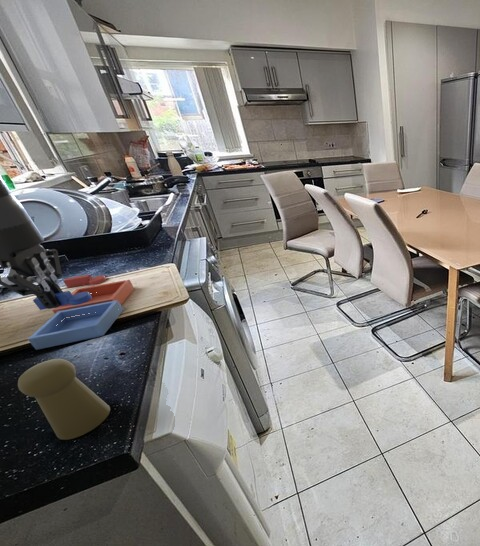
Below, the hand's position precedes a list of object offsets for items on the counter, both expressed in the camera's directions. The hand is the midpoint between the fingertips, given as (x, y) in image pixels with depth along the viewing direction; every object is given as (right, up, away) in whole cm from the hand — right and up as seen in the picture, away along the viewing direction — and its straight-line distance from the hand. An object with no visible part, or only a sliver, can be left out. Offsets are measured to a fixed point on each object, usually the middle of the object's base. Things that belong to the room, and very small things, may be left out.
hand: (57, 304), depth 64 cm
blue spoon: (+1, 0, 0) cm, 1 cm away
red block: (-16, +3, +22) cm, 27 cm away
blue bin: (+2, -6, +4) cm, 7 cm away
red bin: (-4, -1, +12) cm, 13 cm away
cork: (+23, -16, -17) cm, 33 cm away
